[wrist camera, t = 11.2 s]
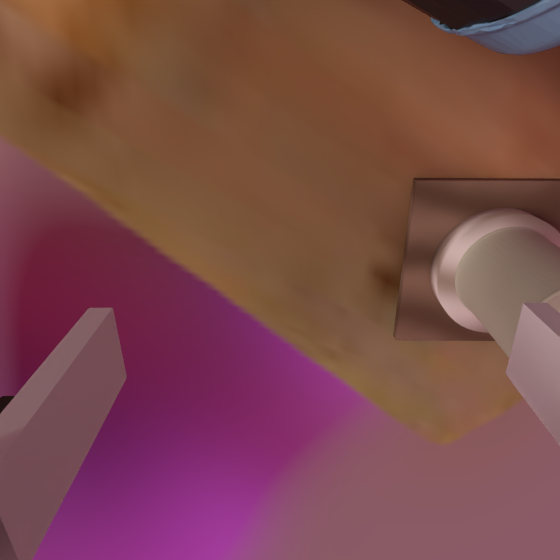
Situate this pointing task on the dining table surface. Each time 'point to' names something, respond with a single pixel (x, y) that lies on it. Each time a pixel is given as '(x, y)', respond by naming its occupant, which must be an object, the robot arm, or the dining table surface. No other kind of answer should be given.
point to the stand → (461, 246)
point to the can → (508, 279)
